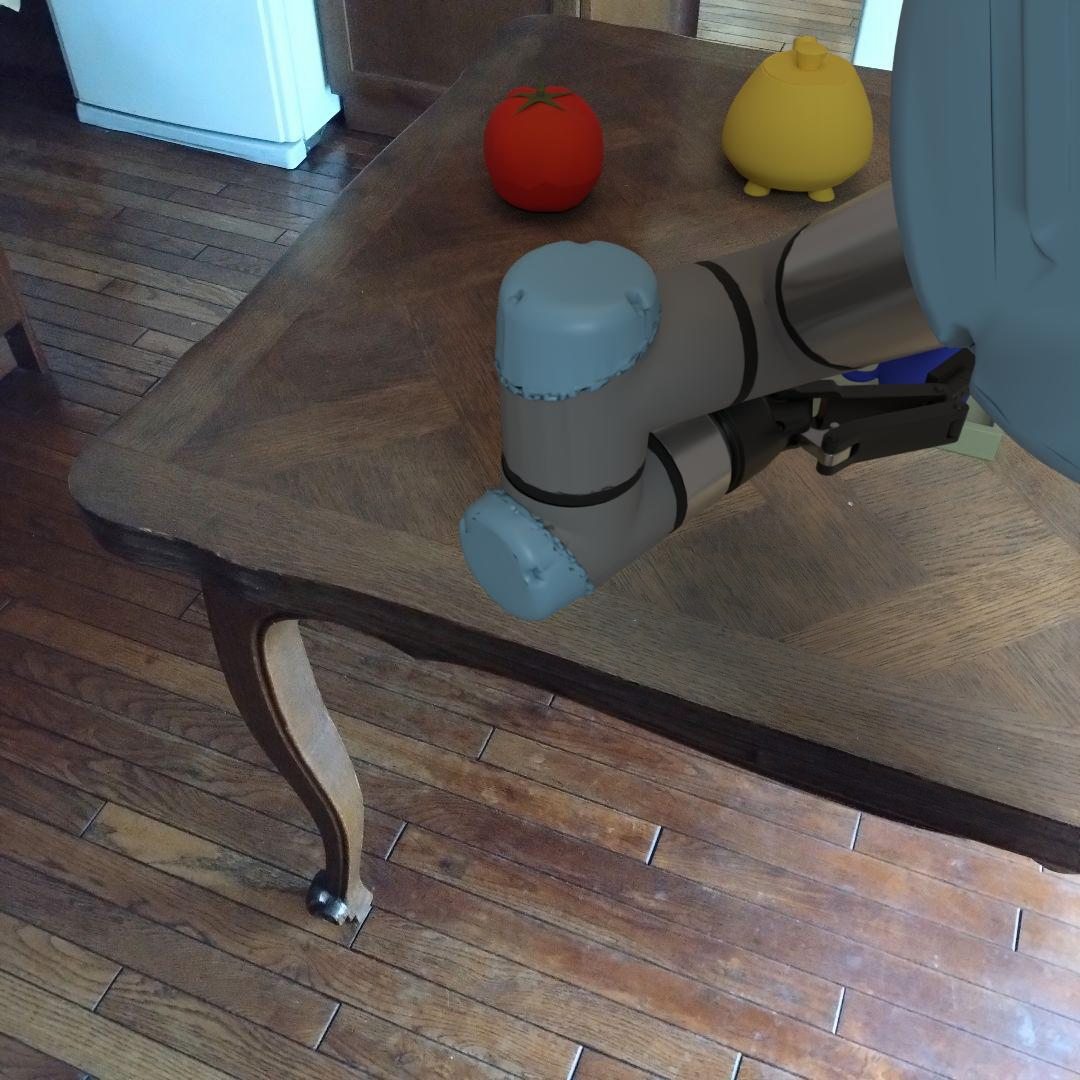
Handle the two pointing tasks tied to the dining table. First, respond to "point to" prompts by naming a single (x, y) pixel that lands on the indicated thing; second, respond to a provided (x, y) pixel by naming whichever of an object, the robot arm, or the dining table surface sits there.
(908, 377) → the mug
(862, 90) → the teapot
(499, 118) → the tomato
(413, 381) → the dining table surface
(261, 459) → the dining table surface
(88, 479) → the dining table surface
